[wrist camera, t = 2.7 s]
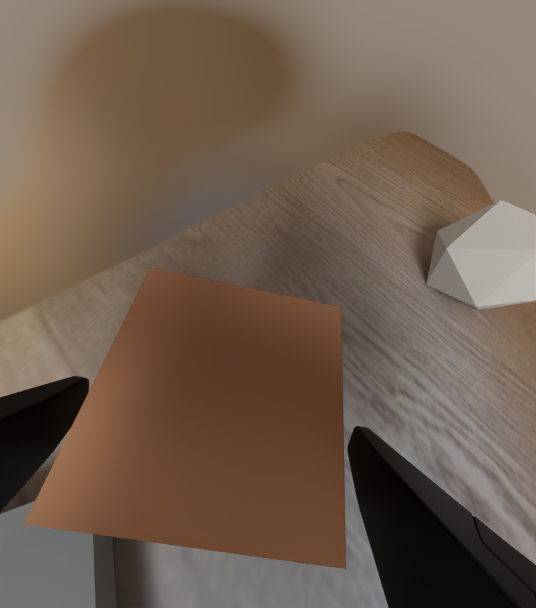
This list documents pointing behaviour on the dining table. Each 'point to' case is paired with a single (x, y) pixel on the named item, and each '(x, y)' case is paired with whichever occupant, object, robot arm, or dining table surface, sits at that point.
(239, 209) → the dining table surface
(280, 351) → the brown block
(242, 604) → the dining table surface
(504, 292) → the die
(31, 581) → the tray
